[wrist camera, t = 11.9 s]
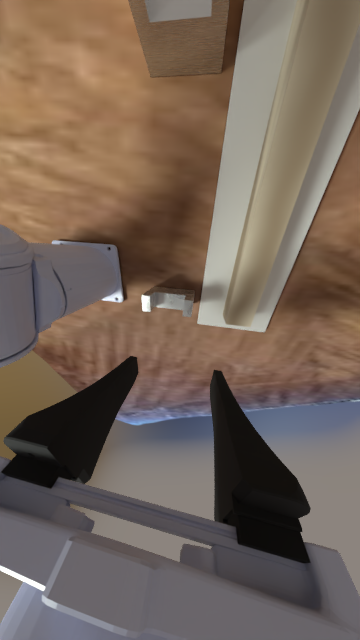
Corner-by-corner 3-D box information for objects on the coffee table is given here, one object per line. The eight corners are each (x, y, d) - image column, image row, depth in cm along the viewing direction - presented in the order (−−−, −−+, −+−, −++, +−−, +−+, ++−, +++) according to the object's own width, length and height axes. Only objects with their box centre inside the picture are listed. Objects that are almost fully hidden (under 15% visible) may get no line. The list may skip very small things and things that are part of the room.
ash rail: (222, 314, 19) (225, 324, 17) (302, -25, 8) (348, -151, 6) (243, 317, 19) (250, 327, 16) (355, -32, 8) (428, -168, 6)
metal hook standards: (154, 299, 21) (142, 310, 16) (149, 33, 11) (114, -115, 6) (193, 303, 20) (191, 317, 16) (226, 26, 10) (245, -143, 6)
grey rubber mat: (197, 321, 21) (197, 323, 21) (253, -64, 8) (257, -85, 8) (262, 330, 20) (264, 332, 20) (438, -93, 7) (455, -119, 7)
